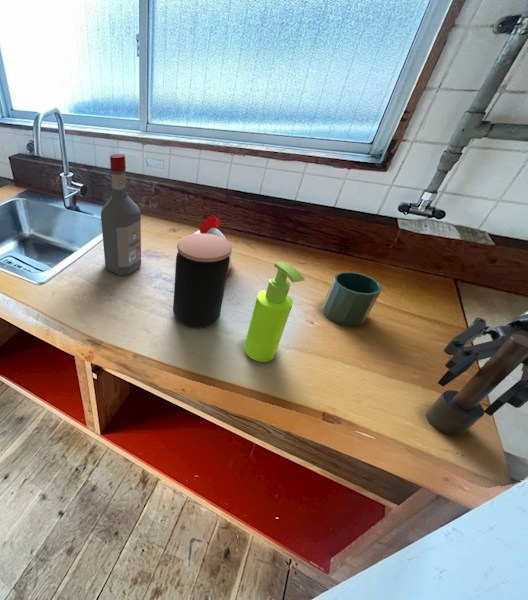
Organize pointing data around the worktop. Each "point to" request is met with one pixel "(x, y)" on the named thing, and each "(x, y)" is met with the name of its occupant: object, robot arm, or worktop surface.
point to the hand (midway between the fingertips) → (468, 392)
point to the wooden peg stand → (476, 389)
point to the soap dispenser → (271, 314)
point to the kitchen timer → (212, 230)
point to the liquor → (121, 224)
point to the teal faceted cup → (350, 298)
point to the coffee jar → (200, 278)
